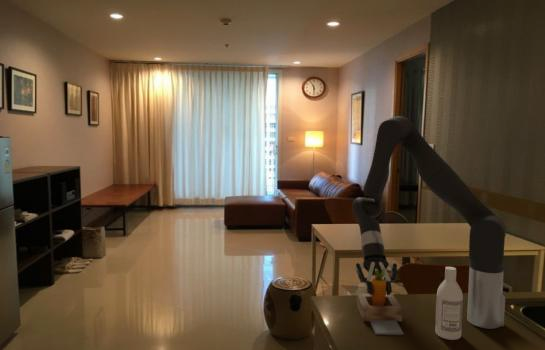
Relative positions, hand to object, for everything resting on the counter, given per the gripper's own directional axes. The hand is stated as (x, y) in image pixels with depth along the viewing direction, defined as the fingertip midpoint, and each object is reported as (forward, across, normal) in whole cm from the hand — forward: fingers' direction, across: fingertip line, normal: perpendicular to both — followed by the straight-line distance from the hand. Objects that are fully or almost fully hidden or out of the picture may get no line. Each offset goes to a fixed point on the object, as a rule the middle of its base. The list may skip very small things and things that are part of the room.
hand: (380, 294), depth 130 cm
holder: (+4, 0, +6) cm, 7 cm away
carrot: (+4, 0, +6) cm, 8 cm away
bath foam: (+14, +17, -3) cm, 22 cm away
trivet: (+11, 0, -1) cm, 11 cm away
